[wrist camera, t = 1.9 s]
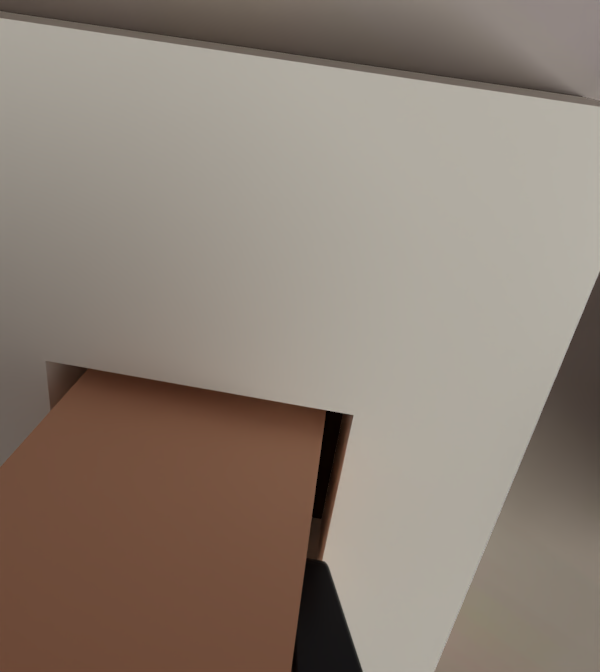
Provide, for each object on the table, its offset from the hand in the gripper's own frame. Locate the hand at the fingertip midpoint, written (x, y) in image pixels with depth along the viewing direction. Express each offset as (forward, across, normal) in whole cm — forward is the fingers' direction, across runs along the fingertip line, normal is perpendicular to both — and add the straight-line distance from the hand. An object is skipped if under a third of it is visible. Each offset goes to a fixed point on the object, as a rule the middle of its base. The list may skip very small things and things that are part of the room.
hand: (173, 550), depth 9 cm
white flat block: (+4, 0, 0) cm, 4 cm away
